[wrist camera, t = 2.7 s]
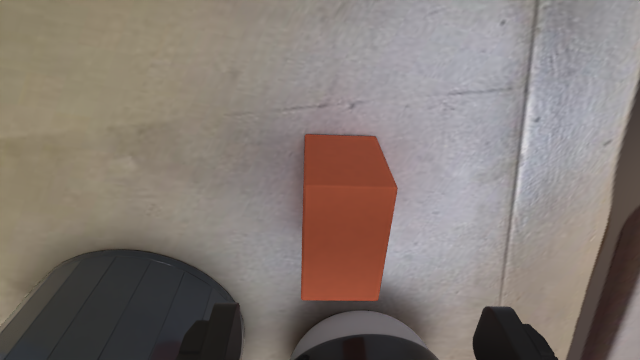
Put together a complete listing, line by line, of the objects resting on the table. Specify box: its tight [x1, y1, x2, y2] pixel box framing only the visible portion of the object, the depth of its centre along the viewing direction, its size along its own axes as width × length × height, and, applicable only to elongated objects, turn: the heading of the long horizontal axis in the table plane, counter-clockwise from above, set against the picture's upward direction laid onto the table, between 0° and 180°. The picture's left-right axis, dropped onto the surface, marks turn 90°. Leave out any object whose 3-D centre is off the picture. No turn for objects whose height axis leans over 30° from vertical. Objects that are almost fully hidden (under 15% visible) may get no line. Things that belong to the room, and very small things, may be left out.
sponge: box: [301, 134, 398, 301], centre depth 17 cm, size 4×6×5 cm, turn 177°
